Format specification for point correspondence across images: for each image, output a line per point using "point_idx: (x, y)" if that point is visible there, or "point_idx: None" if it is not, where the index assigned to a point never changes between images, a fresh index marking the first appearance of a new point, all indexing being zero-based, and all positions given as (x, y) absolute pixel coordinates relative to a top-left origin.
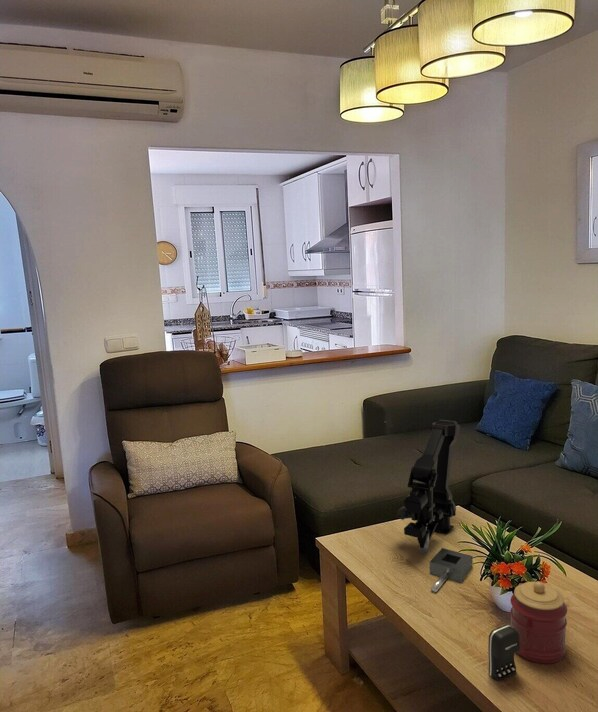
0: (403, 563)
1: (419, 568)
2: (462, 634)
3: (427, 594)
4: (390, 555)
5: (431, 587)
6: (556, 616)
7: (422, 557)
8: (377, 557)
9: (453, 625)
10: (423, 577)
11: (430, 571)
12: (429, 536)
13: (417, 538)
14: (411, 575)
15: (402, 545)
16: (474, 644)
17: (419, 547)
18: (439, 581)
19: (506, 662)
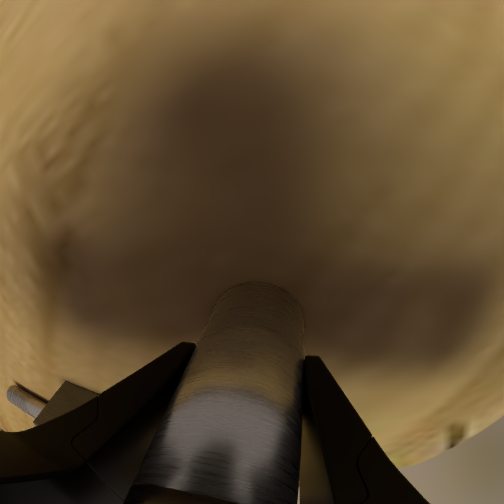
0: (30, 237)
1: (57, 336)
2: (7, 419)
3: (3, 372)
4: (52, 100)
5: (7, 392)
6: None
7: (158, 331)
8: (14, 58)
9: (5, 411)
10: (33, 358)
11: (60, 391)
12: (302, 462)
13: (86, 406)
14: (7, 311)
15: (262, 79)
16: (12, 429)
17: (219, 312)
18: (35, 418)
19: None
